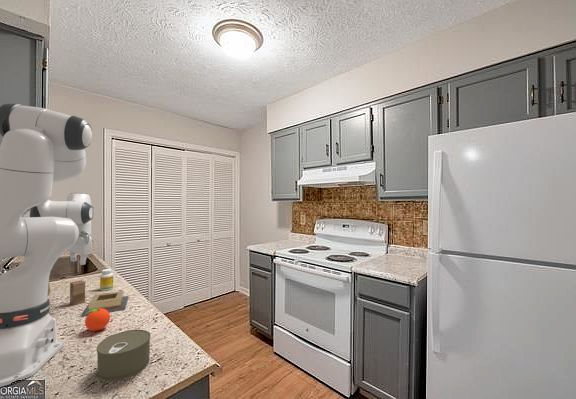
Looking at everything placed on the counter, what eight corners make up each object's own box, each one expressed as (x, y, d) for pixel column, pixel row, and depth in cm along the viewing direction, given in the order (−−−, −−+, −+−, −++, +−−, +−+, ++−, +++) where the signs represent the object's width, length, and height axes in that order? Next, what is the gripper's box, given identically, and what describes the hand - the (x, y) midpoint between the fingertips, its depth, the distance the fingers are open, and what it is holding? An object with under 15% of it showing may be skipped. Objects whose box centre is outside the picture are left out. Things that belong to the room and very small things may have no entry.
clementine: (76, 336, 83) (76, 314, 83) (87, 326, 89) (87, 306, 89) (105, 333, 85) (105, 311, 85) (113, 323, 91) (113, 303, 91)
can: (158, 352, 74) (158, 329, 74) (135, 382, 62) (135, 353, 62) (115, 353, 74) (116, 329, 74) (84, 383, 62) (84, 354, 62)
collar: (125, 309, 104) (125, 299, 104) (81, 316, 97) (81, 305, 97) (128, 297, 116) (128, 289, 116) (90, 303, 110) (90, 294, 110)
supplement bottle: (99, 288, 128) (99, 269, 128) (112, 286, 132) (112, 267, 132) (100, 291, 124) (100, 271, 124) (113, 289, 128) (113, 270, 128)
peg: (85, 302, 111) (85, 281, 111) (73, 305, 107) (73, 284, 107) (81, 300, 113) (81, 280, 113) (69, 303, 110) (69, 282, 110)
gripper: (97, 231, 107) (97, 264, 107) (78, 228, 119) (78, 258, 119) (79, 233, 102) (78, 268, 102) (60, 229, 113) (60, 260, 113)
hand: (78, 262), depth 110 cm, fingers open, 8 cm apart
